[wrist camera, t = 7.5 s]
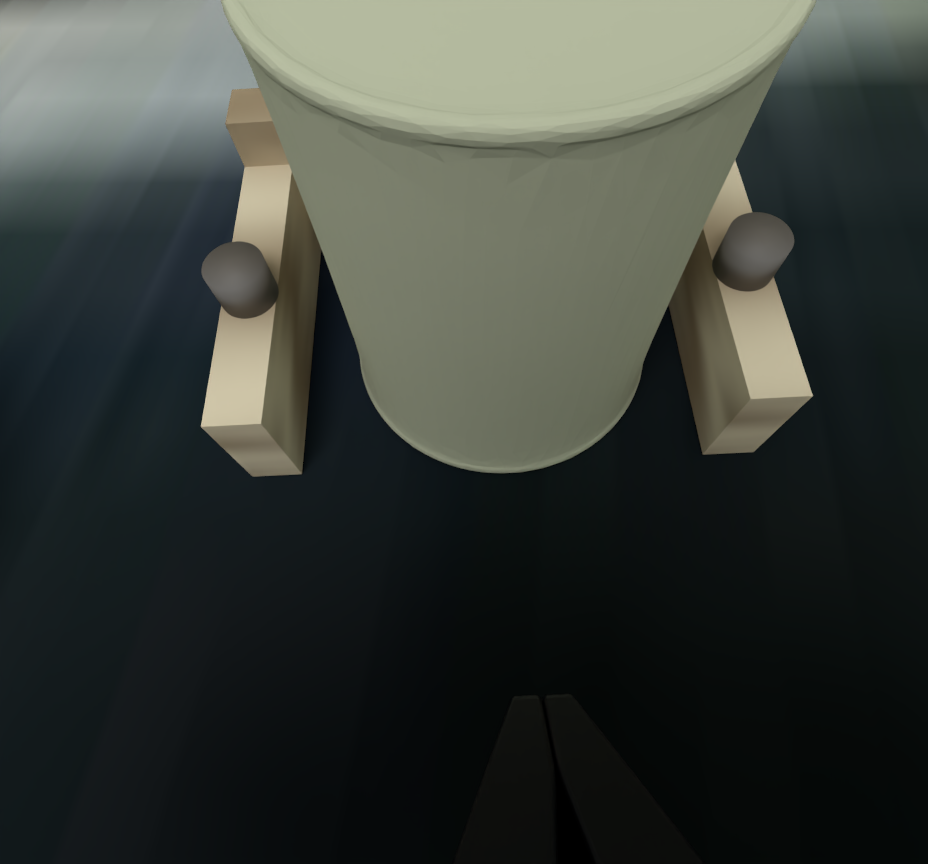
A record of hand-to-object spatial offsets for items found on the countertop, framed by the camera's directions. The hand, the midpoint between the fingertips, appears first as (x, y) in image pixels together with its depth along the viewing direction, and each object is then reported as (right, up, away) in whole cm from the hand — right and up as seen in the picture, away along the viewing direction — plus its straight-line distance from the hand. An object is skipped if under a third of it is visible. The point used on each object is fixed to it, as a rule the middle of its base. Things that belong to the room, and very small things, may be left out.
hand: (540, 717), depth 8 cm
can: (0, +7, +11) cm, 13 cm away
